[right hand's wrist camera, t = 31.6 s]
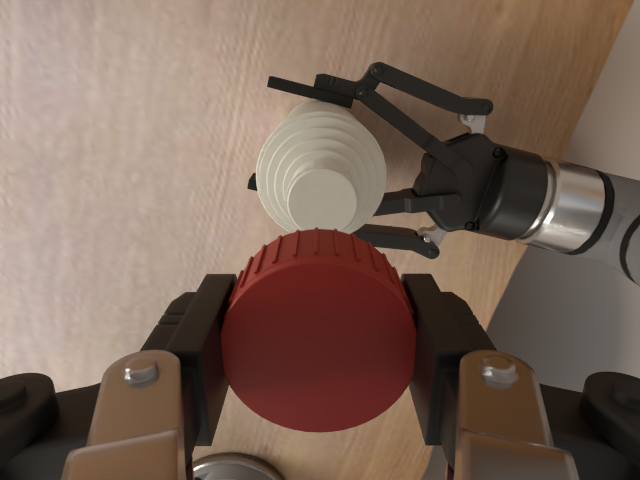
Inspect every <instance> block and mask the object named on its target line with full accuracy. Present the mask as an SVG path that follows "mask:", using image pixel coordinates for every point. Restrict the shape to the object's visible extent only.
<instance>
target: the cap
mask: <svg viewBox="0 0 640 480" xmlns="http://www.w3.org/2000/svg"><path fill="white" fill-rule="evenodd" d="M228 303H230V304H229V306H228V309H227V311H226V314H225V316H224V321H223V325H222V328H221V345H222V356H223V367H224V375H225V377H226V379H227V381H228V383H229V385H230V387H231V388H232V390H233V391H234V392H235V394H236V395H237V396H238V397H239V399H240V400H241V401H242V402H243V403H244V404H245V405H246V406H248V407H249V408H250V409H251V410H252V411H254V412H255V413H257V414H258V415H260V416H261V417H263V418H265V419H267V420H268V421H270V422H272V423H275V424H277V425H280V426H283V427H286V428H290V429H294V430H299V431H305V432H333V431H339V430H344V429H348V428H352V427H355V426H358V425H361V424H363V423H366V422H368V421H370V420H371V419H373V418H375V417H377V416H378V415H380V414H381V413H383V412H384V411H386V410H387V409H388V408H389V407H390V406H392V405H393V404H394V403H395V402H396V401H397V400H398V398H399V397H400V396H401V395H402V394H403V392H404V391H405V389H406V388H407V386H408V385H409V383H410V381H411V379H412V377H413V372H414V360H415V349H416V337H417V329H416V325H415V322H414V319H413V315H414V312H413V310H412V307H411V304H410V302H409V299H408V297H407V294H406V292H405V289H404V287H403V284H402V282H401V281H400V278H399V276H398V273H397V271H396V268H395V267H392V266H391V265H390V263H389V262H388V261H387V258H386V255H385V254H384V253H383V254H381V253H380V252H379V251H378V250H377V249H375V248H374V247H373V246H372V243H371V242H369V243H367V242H365V241H364V240H362V239H360V238H358V237H356V235H355V234H352V235H350V234H347V233H344V232H340V231H338V230H337V229H334V230H328V229H318V227H315V229H310V230H303V231H299V230H296V232H294V233H291V234H288V235H285V236H283V237H282V236H281V235H280V236H278V239H276V240H274V241H273V242H271V243H270V244H268V245H267V246H266V245H263V246H262V249H261V250H260V251H259V252H258V253H257V254H256V255H255V256H254V257H252V256H251V257H250V259H249V262H248V264H247V267H246V268H245V270H244V271H242V270H241V272H240V275H239V277H238V280H237V282H236V285H235V287H234V289H233V292H232V294H231V297H230V299H229V302H228Z"/></svg>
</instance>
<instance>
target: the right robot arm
mask: <svg viewBox="0 0 640 480" xmlns="http://www.w3.org/2000/svg"><path fill="white" fill-rule="evenodd" d="M400 281H401V282H402V284H403V287H404V289H405V292H406V294H407V297H408V299H409V302H410V304H411V307H412V310H413V312H414V315H413V319H414V322H415V325H416V329H417V337H416V349H415V360H414V372H413V377H412V379H411V381H410V383H409V388H410V392H411V395H412V399H413V402H414V406H415V409H416V413H417V416H418V420H419V423H420V427H421V430H422V434H423V438H424V441H425V445H442V447H443V450H444V453H445V456H446V459H447V466H446V477H445V480H640V379H639V378H636V377H633V376H630V375H626V374H622V373H616V372H598V373H594V374H592V375H590V376H588V378H587V379H586V381H585V384H584V388H583V392H582V393H581V392H576V391H571V390H566V389H561V388H556V387H551V386H547V385H543V384H540V383H539V382H538V378H537V375H536V373H535V372H534V370H533V369H532V368H531V367H530V366H529V365H528V364H527V363H525V362H524V361H522V360H521V359H519V358H517V357H515V356H512V355H510V354H507V353H504V352H500V351H497V350H496V348H495V347H494V345H493V343H492V342H491V340H490V339H489V337H488V336H487V334H486V333H485V331H484V329H483V328H482V326H481V325H480V324H479V322H478V320H477V318H476V317H475V315H473V312H472V311H471V309H470V307H469V306H468V304H467V303H466V301H464V300H463V299H461V298H460V297H458V296H457V295H455V294H454V293H452V292H441V291H440V289H439V287H438V286H437V284H436V282H435V280H434V278H433V277H432V275H431V274H402V275H401V279H400ZM236 282H237V277H236V274H207V275H206V276H205V278H204V280H203V281H202V283H201V285H200V287H199V288H198V290H197V292H186V293H184V294H183V295H181V296H180V297H178V298H177V299H175V300H174V301H172V302H171V304H170V305H169V307H168V308H167V310H166V311H165V313H164V315H163V316H162V317H161V319H160V321H159V322H158V325H156V327H155V328H154V330H153V331H152V333H151V334H150V336H149V338H148V339H147V341H146V342H145V344H144V345H143V347H142V348H141V350H140V351H139V352H136V353H133V354H130V355H128V356H125V357H123V358H121V359H119V360H118V361H116V362H115V363H113V364H112V365H111V366H110V367H109V368H108V369H107V370H106V372H105V373H104V375H103V378H102V382H101V383H98V384H95V385H92V386H88V387H83V388H78V389H73V390H68V391H63V392H58V393H55V389H54V385H53V382H52V380H51V378H50V377H48V376H46V375H43V374H39V373H23V374H17V375H13V376H9V377H5V378H2V379H0V480H195V477H194V466H193V459H192V453H193V450H194V447H195V446H211V445H212V442H213V438H214V435H215V431H216V428H217V424H218V421H219V417H220V414H221V411H222V407H223V404H224V400H225V397H226V393H227V390H228V387H229V383H228V381H227V379H226V377H225V375H224V367H223V356H222V345H221V328H222V325H223V321H224V316H225V314H226V311H227V309H228V306H229V304H230V303H228V302H229V299H230V297H231V294H232V292H233V289H234V287H235V285H236Z"/></svg>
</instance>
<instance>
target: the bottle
mask: <svg viewBox="0 0 640 480" xmlns="http://www.w3.org/2000/svg"><path fill="white" fill-rule="evenodd" d="M386 181H387V171H386V163H385V159H384V155H383V153H382V150H381V148H380V146H379V144H378V143H377V141H376V139H375V138H374V137H373V135H372V134H371V133H370V132H369V131H368V130H367V129H366V128H365V127H364V126H363V125H362V124H361V123H360V122H359V121H358V120H357V119H356V118H355V117H354V116H352V115H351V114H350V113H349V112H348V111H347V110H346V109H345V108H344V107H343V106H339V105H336V104H332V103H328V102H324V101H320V100H316V99H309V100H306V101H303V102H301V103H300V104H298V105H297V106H295V107H294V108H293V109H292V110H291V111H290V113H289V114H288V115H287V116H286V117H285V118H284V120H283V121H282V122H281V123H280V124H279V126H278V127H277V128H276V129H275V130H274V132H273V133H272V134H271V135H270V136H269V138H268V139H267V141H266V142H265V144H264V146H263V148H262V150H261V152H260V155H259V158H258V162H257V167H256V185H257V190H258V194H259V197H260V200H261V202H262V204H263V206H264V208H265V210H266V211H267V213H268V214H269V215H270V217H271V218H272V219H273V220H274V221H275V222H276V223H277V224H278V225H279V226H281V227H282V228H283V229H285V230H286V231H288V232H290V233H294V232H296V230H299V231H303V230H310V229H315V227H318V229H328V230H334V229H337V230H338V231H340V232H344V233H347V234H351V233H353V232H354V231H356V230H358V229H359V228H360V227H362V226H363V225H364V224H365V223H366V222H367V221H368V220H369V219H370V218H371V217H372V216H373V214H374V213H375V212H376V210H377V209H378V207H379V205H380V203H381V201H382V198H383V196H384V192H385V188H386Z"/></svg>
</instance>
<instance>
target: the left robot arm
mask: <svg viewBox="0 0 640 480" xmlns="http://www.w3.org/2000/svg"><path fill="white" fill-rule="evenodd" d="M380 82H382V83H384V84H386V85H389V86H391V87H393V88H396V89H398V90H400V91H403V92H405V93H407V94H410V95H412V96H414V97H417V98H419V99H421V100H423V101H426V102H428V103H430V104H433V105H435V106H437V107H440V108H442V109H445V110H447V111H451V112H454V113H457V120H458V122H460V123H462V124H465V125H466V126H467V128H468V132H467V133H465V134H462V135H460V136H457V137H455V138H452V139H450V140H447V141H445V142H441V141H439V140H438V139H437V138H435V137H434V136H433V135H431V134H430V133H429V132H427V131H426V130H425V129H423V128H422V127H421V126H419V125H418V124H417V123H416V122H414V121H413V120H412V119H410V118H409V117H408V116H407V115H405V114H404V113H403V112H401V111H400V110H399V109H397V108H396V107H395V106H394V105H392V104H391V103H390V102H388V101H387V100H386V99H385V98H383V97H382V96H381V95H379V94H378V93H377V92H375V91H374V90H375V89H376V87H377V86H378V84H379V83H380ZM267 87H270V88H274V89H278V90H282V91H285V92H289V93H293V94H297V95H301V96H305V97H309V98H312V99H316V100H320V101H324V102H328V103H332V104H336V105H339V106H343V107H347V108H351V106H352V102H353V99H356V100H360V101H361V102H362V103H363V104H365V105H366V106H367V107H369V108H370V109H371V110H373V111H374V112H375V113H377V114H378V115H379V116H381V117H382V118H383V119H384V120H386V121H387V122H388V123H390V124H391V125H392V126H394V127H395V128H396V129H398V130H399V131H400V132H402V133H403V134H404V135H406V136H407V137H408V138H409V139H411V140H412V141H413V142H415V143H416V144H417V145H419V146H420V147H421V148H423V149H424V150H425V151H426V152H427V153H424V155H423V158H422V161H421V172H420V173H419V175H418V176H417V178H416V180H415V183H414V186H413V188H407V189H402V190H401V191H396V192H388V193H384V196H383V198H382V201H381V203H380V205H379V207H378V209H377V210H376V212H375V213H374V214H373V216H379V215H387V214H395V213H402V212H408V213H417V212H425V211H426V212H427V213H428V215H429V216H430V217H431V218H432V220H433V221H434V222H435V225H434V226H432V227H430V228H427V227H421V228H419V229H418V231H415V230H413V229H409V228H402V227H392V226H382V225H372V224H364V225H363V226H362V227H360V228H359V229H358V230H356V231H354V232H353V233H351V234H350V235H352V234H355V235H356V237H358V238H360V239H362V240H364V241H365V242H367V243H369V242H371V243H372V246H373V247H382V248H392V249H402V250H412V251H414V252H416V253H419V254H421V255H423V256H425V257H427V258H429V259H435V258H437V257H438V256H439V253H440V250H439V249H438V246H439V244H440V243H441V241H442V240H443V238H444V236H445V235H446V233H447V232H453V231H456V230H467V231H471V232H475V233H479V234H483V235H487V236H492V237H496V238H500V239H504V240H515V241H516V242H517V243H521V244H525V245H529V246H534V247H538V248H542V249H547V250H551V251H556V252H560V253H564V254H569V255H573V256H577V257H581V258H585V259H588V260H593V261H596V262H600V263H603V264H606V265H608V266H610V267H612V268H614V269H616V270H617V271H618V272H620V273H621V274H623V275H624V276H626V277H628V278H629V279H630V280H632V281H633V282H634V283H636V284H637V285H639V286H640V181H638V180H634V179H629V178H625V177H621V176H617V175H612V174H608V173H604V172H601V171H598V170H594V169H592V168H588V167H584V166H580V165H577V164H573V163H569V162H565V161H561V160H558V159H554V158H549V157H544V158H541V157H540V156H539V155H537V154H534V153H531V152H527V151H523V150H519V149H515V148H511V147H507V146H504V145H500V144H496V143H493V142H492V141H490V140H489V138H488V137H487V136H486V135H484V128H485V122H486V115H488V114H490V113H491V112H492V110H493V103H492V102H491V101H490V100H488V99H482V98H469V97H460V96H458V95H455V94H453V93H451V92H448V91H446V90H444V89H442V88H439V87H437V86H435V85H432V84H430V83H428V82H426V81H423V80H421V79H419V78H416V77H414V76H412V75H410V74H407V73H405V72H403V71H400V70H398V69H396V68H394V67H391V66H389V65H387V64H384V63H382V62H376V63H373V64H371V65H370V66H369V68H368V70H367V71H366V73H365V74H364V76H363V77H362V78H361V79H360V80H359V81H355V82H354V81H349V80H345V79H342V78H338V77H334V76H330V75H327V74H318V75H316V79H315V83H314V87H312V86H308V85H304V84H300V83H297V82H293V81H289V80H285V79H281V78H277V77H274V76H269V80H268V85H267ZM247 189H251V190H255V191H258V190H257V185H256V173H253V175H252V176H251V178H250V179H249V183H248V188H247ZM193 466H194V477H195V480H284V479H283V477H282V476H281V475H280V474H279V473H278V471H276V470H275V469H274V468H273V467H271V466H270V465H269V464H267V463H265V462H263V461H261V460H259V459H257V458H254V457H251V456H248V455H243V454H236V453H220V454H213V455H209V456H206V457H203V458H201V459H198V460H196V461H194V462H193Z"/></svg>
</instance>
